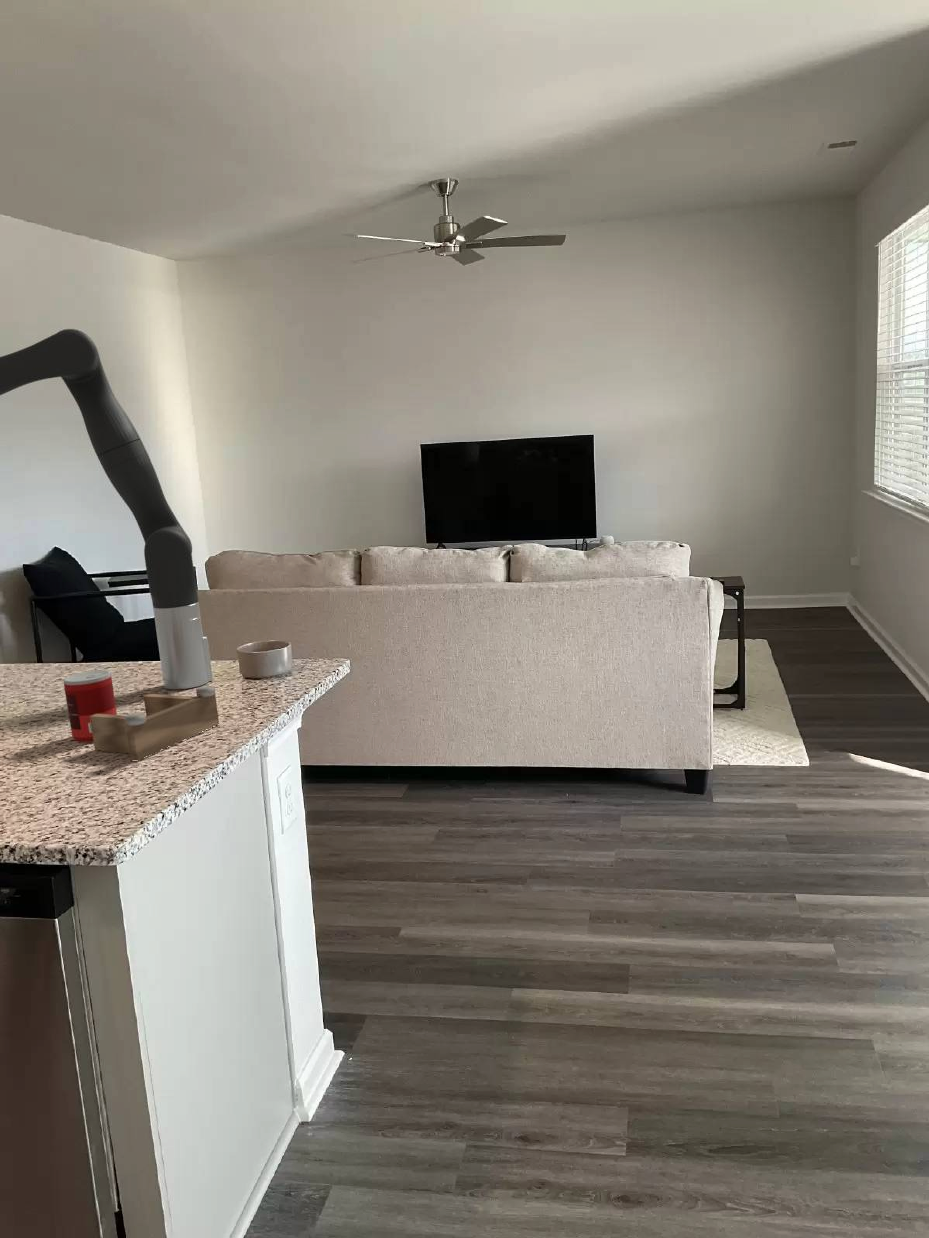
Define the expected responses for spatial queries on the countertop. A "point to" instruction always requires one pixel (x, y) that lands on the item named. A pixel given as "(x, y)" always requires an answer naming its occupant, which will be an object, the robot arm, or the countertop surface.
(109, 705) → the canned food
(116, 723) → the bracket
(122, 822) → the countertop surface
